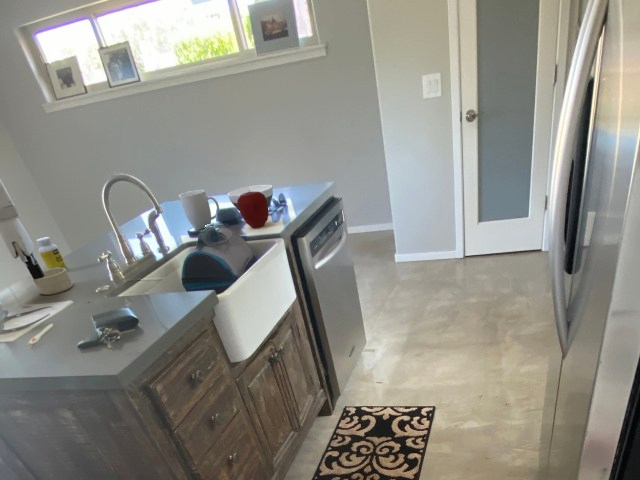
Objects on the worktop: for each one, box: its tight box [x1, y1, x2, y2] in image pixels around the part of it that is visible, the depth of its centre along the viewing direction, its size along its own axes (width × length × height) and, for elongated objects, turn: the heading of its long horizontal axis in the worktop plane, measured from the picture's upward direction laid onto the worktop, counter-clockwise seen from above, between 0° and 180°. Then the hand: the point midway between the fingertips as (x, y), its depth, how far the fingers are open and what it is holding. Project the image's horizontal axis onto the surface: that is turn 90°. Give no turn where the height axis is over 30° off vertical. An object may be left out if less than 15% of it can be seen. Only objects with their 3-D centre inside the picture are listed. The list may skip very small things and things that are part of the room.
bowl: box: [227, 184, 274, 212], centre depth 226 cm, size 20×20×10 cm
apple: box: [237, 191, 269, 229], centre depth 207 cm, size 12×12×13 cm
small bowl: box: [30, 268, 74, 296], centre depth 177 cm, size 11×11×6 cm
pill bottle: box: [35, 236, 69, 271], centre depth 193 cm, size 6×6×12 cm
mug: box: [178, 189, 220, 230], centre depth 220 cm, size 15×11×13 cm
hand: (39, 277), depth 166 cm, fingers closed
